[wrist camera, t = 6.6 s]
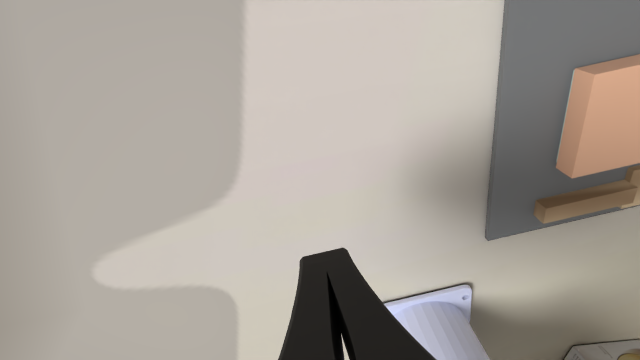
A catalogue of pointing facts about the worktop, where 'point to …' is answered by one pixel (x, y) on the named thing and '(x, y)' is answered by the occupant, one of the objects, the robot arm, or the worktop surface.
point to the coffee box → (606, 351)
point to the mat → (547, 101)
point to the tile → (601, 118)
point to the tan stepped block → (591, 199)
